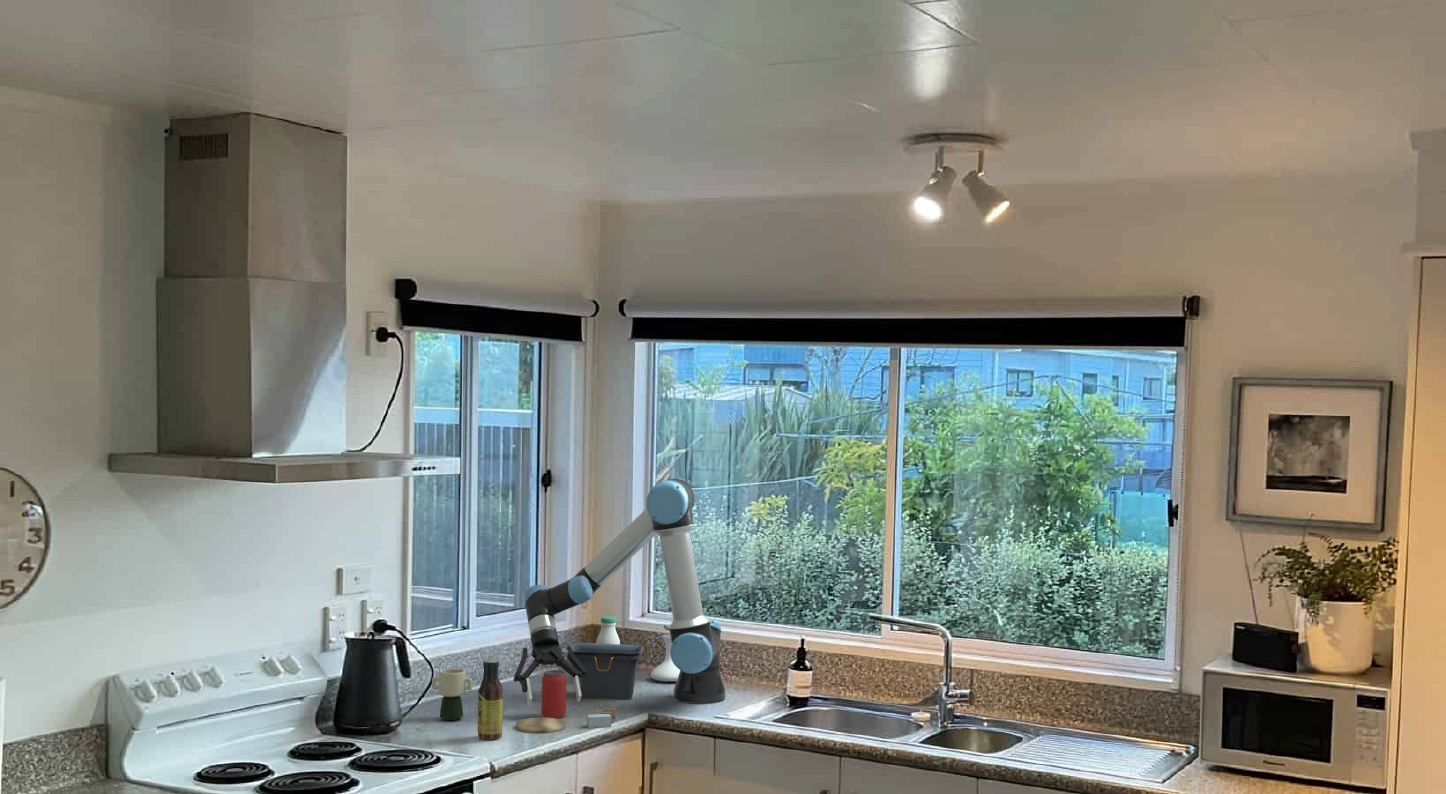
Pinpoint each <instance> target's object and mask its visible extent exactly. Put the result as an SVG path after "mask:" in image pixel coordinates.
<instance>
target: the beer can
mask: <svg viewBox="0 0 1446 794" xmlns="http://www.w3.org/2000/svg"><path fill="white" fill-rule="evenodd" d="M541 679H542V680H541V703H540V704H541V707H540V708H541V710H540V711H541V713H540V714H541V717H542V718H555V719H556V718H557V719H561V717H562V718H564V717H565V716H566V714H567V712H566V711H567V710H566V709H567V707H566V706H567V678H566V675H565V671H563V670H546V671H544V673H543V675H542V678H541Z"/></svg>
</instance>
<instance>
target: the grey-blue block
mask: <svg viewBox="0 0 1446 794" xmlns="http://www.w3.org/2000/svg"><path fill="white" fill-rule="evenodd" d="M586 726H587V728H588V727H589V728H588V729H595V728H594V727H602V728H612V724H611V715H610V714H601V713H600V714H586Z"/></svg>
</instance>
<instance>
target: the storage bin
mask: <svg viewBox="0 0 1446 794" xmlns="http://www.w3.org/2000/svg"><path fill="white" fill-rule="evenodd" d="M569 646H570V647H571V648H572V652H573V653H574V655H575V656H576V657H577V658H578V660H579V661H580V662H581V664H582V665H583V666H584V667H585V669H586V670H587V675H586V677H585V678H582V682H583V687H582V689H581V695H582V696H581V699H583V698H584V699H611V700H612V699H613V700H631V699H633V694H634V690H635V689H634V688H635V681H636V674H637V667H638V660H640V659H641V657H642V654H643V653H642V652H643V649H644V647H643V646H642V645H637V644H622V643H620V644H597V643H596V642H595V643H594V642H593V643H592V642H575V643H571V644H570V645H569ZM574 696H575V697H576V693H575V692H574Z"/></svg>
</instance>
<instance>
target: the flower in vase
mask: <svg viewBox="0 0 1446 794" xmlns="http://www.w3.org/2000/svg"><path fill="white" fill-rule="evenodd" d="M663 629H664V630H665V631H669V632H670V630H669V626H666V625H665V624H664V625H663ZM661 637H662V639H663V641H664V643H665V659H664V660H663V661H662V662H661V663H660V664H659V665H658V666H656V667H655V668H654V669H653V670H652V671H651V673H650V676H651V678H652V679H653V680H655V681H659V682H667V683H668V682H669V683H670V682H671V683H672V682H677V679H678V676H679V673H680V670H679V669H678V668H677V667H676V666H675V665H674V663H673V662H672V659H671V655H670V649H671V644H672V642H671V636H670V634H663V635H661Z"/></svg>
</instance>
